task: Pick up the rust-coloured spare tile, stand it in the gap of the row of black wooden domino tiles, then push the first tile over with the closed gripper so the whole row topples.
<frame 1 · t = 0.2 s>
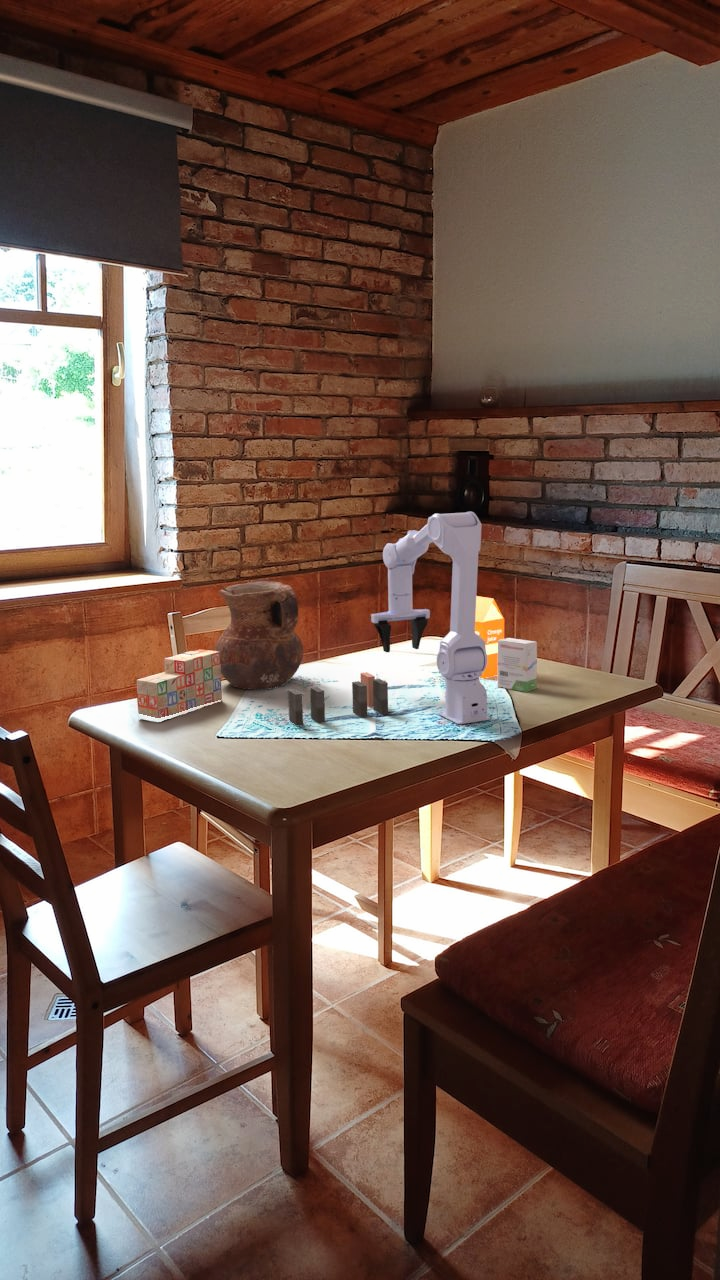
hand: (401, 649, 234), 10 cm above the table, tool pointing down, fingers open, 7 cm apart
tile 4: (296, 723, 210), on the table
stack of blocks: (181, 711, 223), on the table
tile 3: (317, 720, 212), on the table
tile 2: (360, 714, 216), on the table
jug: (260, 684, 246), on the table
orange juice: (481, 674, 252), on the table
tile 1: (380, 711, 218), on the table
ink box: (517, 688, 236), on the table
spare tile: (368, 704, 224), on the table
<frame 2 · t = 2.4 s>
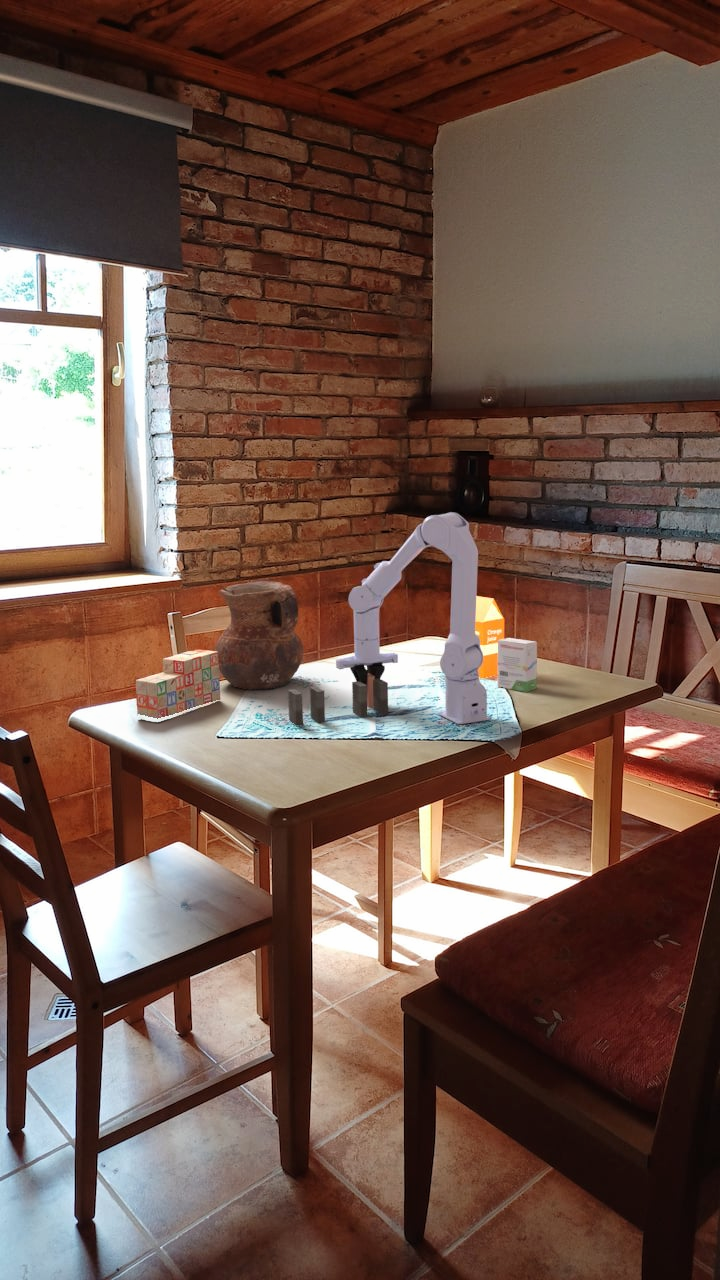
hand: (367, 696, 224), 2 cm above the table, tool pointing down, fingers closed on spare tile, 2 cm apart
spare tile: (368, 704, 224), on the table, touching gripper
everything else where it was.
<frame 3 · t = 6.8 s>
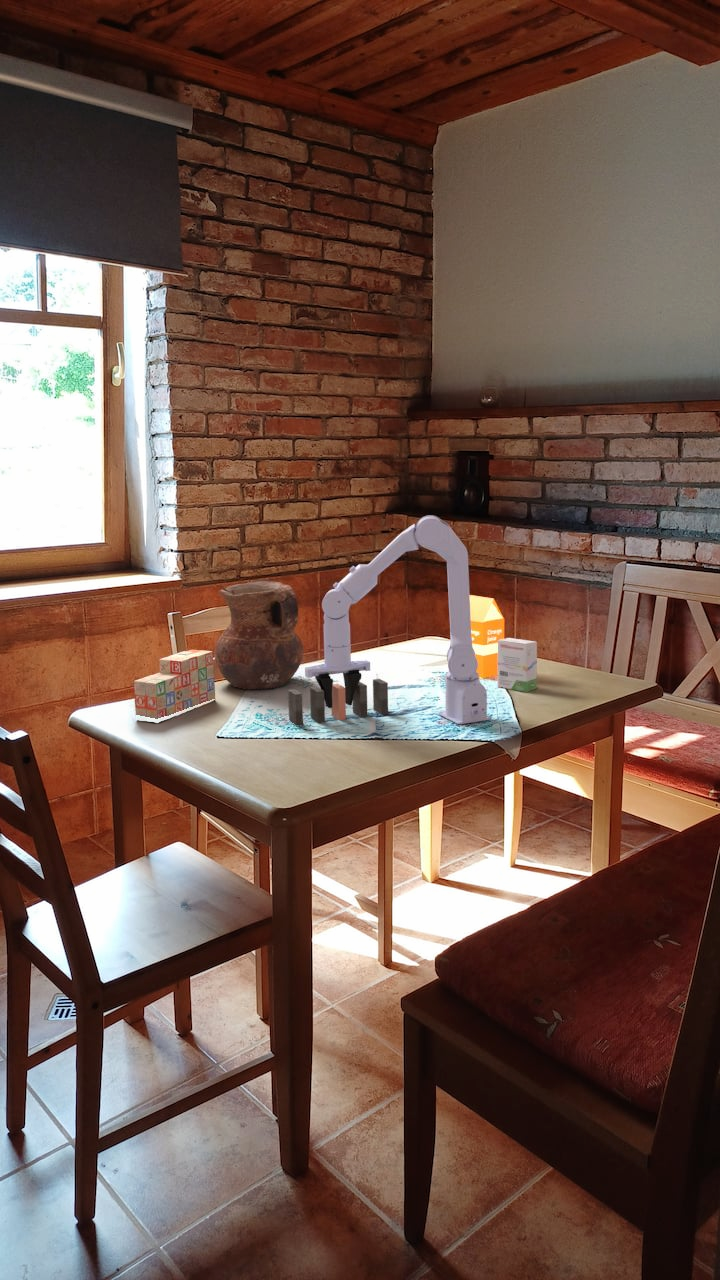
hand: (338, 705, 214), 3 cm above the table, tool pointing down, fingers open, 4 cm apart
spare tile: (338, 717, 214), on the table
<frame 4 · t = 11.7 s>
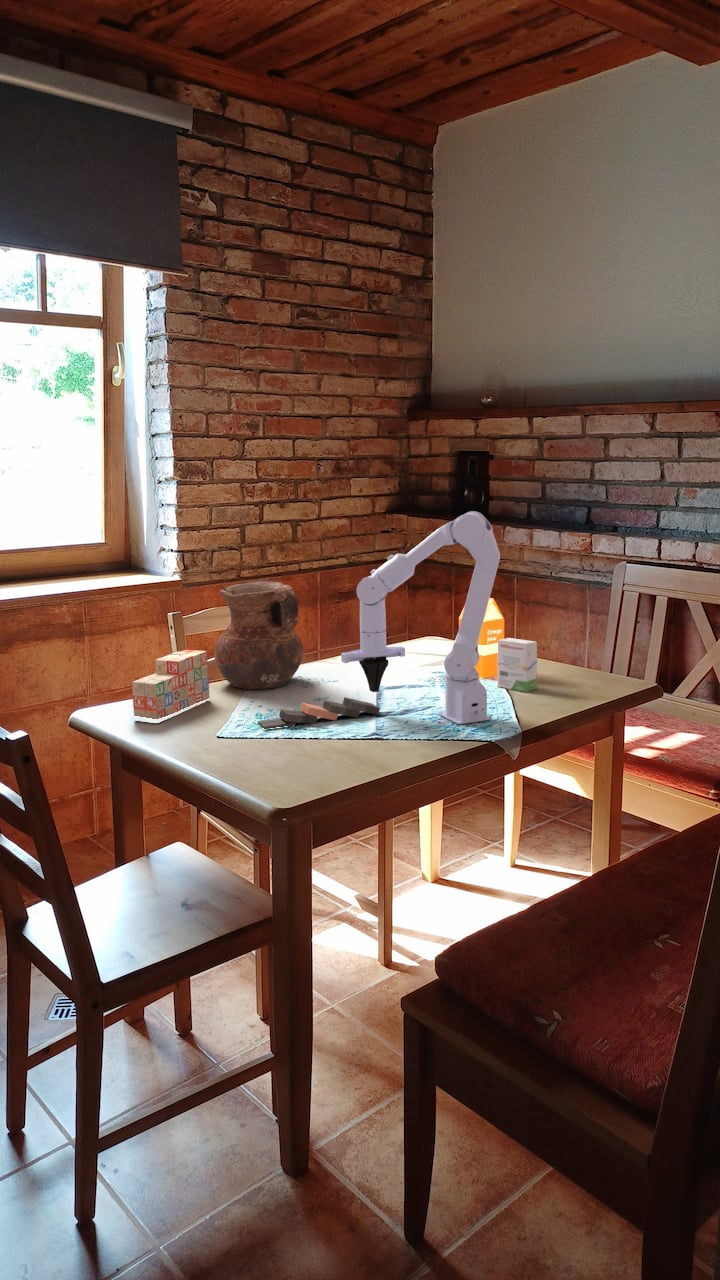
hand: (374, 691, 216), 5 cm above the table, tool pointing down, fingers closed
tile 4: (292, 723, 210), on the table, tilted 90°
tile 3: (313, 717, 212), point 1 cm above the table, tilted 78°, touching spare tile
tile 2: (355, 712, 215), point 1 cm above the table, tilted 71°, touching spare tile, tile 1
tile 1: (374, 709, 217), point 1 cm above the table, tilted 71°, touching tile 2
spare tile: (333, 714, 214), point 1 cm above the table, tilted 71°, touching tile 2, tile 3
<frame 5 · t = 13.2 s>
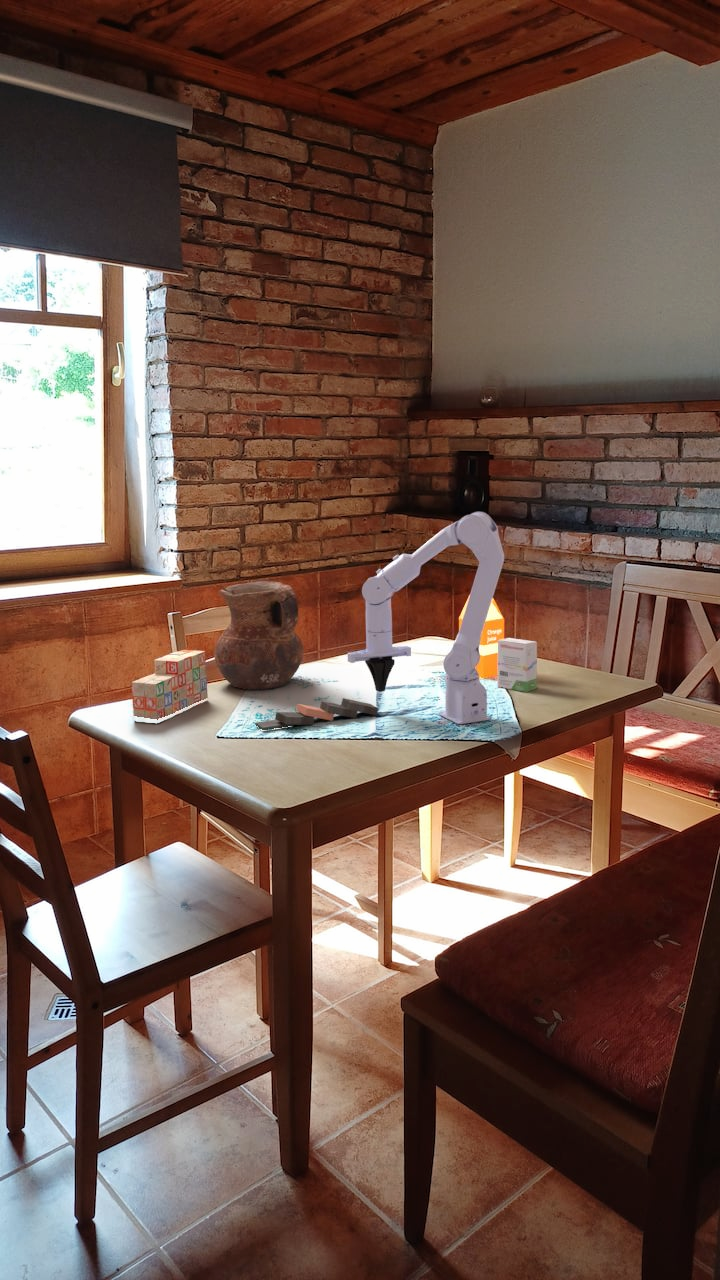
hand: (380, 690, 217), 5 cm above the table, tool pointing down, fingers closed
tile 3: (308, 718, 211), point 1 cm above the table, tilted 79°, touching spare tile
spare tile: (328, 714, 213), point 1 cm above the table, tilted 70°, touching tile 2, tile 3
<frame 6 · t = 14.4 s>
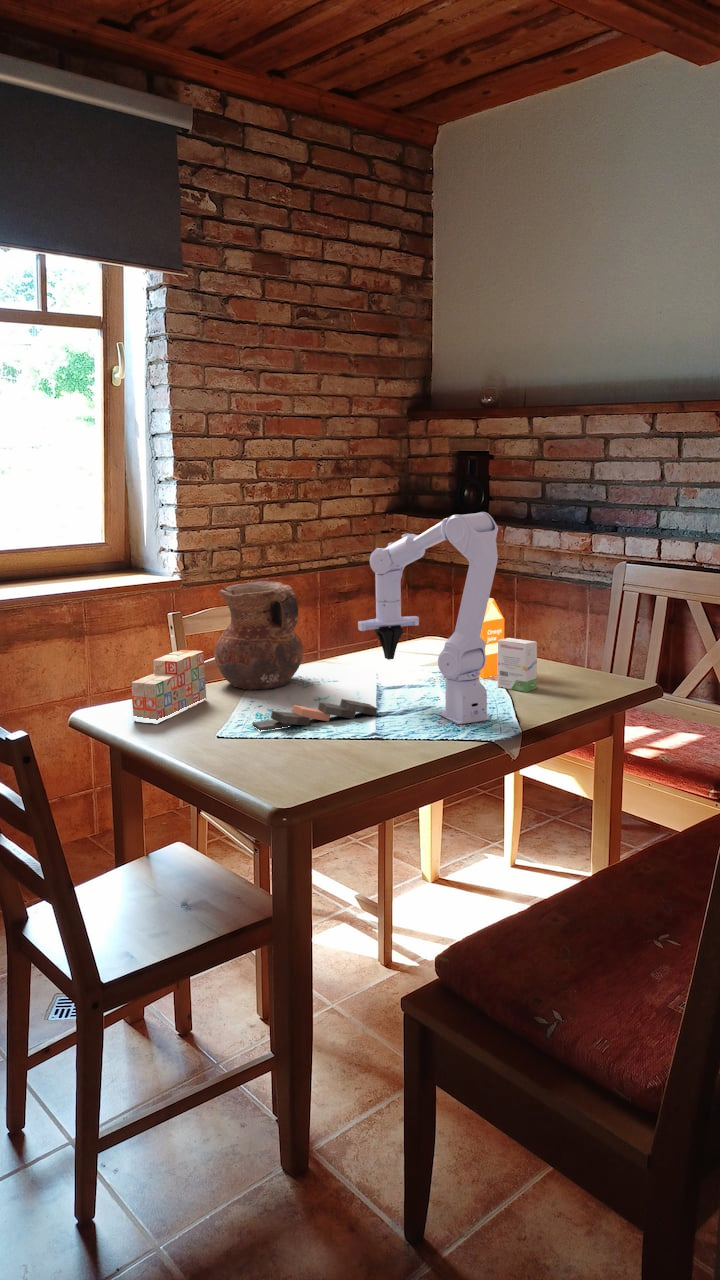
hand: (389, 658, 226), 10 cm above the table, tool pointing down, fingers closed
tile 4: (286, 723, 209), on the table, tilted 90°, touching tile 3
tile 3: (303, 719, 210), point 1 cm above the table, tilted 74°, touching spare tile, tile 4
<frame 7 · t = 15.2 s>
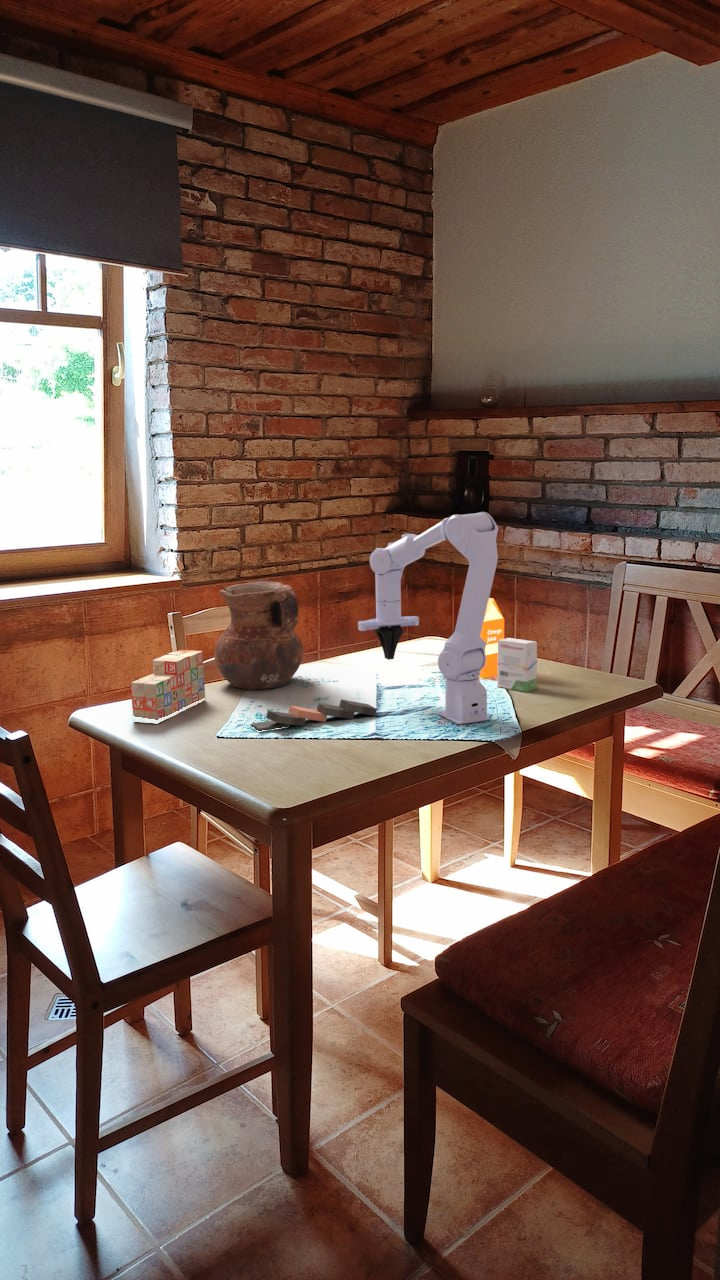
hand: (389, 658, 226), 10 cm above the table, tool pointing down, fingers closed
tile 3: (298, 720, 210), point 1 cm above the table, tilted 73°, touching spare tile, tile 4
tile 2: (349, 713, 214), point 1 cm above the table, tilted 74°, touching tile 1
spare tile: (321, 716, 213), point 1 cm above the table, tilted 72°, touching tile 3
at the end: tile 4 tilted 90°; spare tile inside the target area (3.6 cm from its centre), point 0.8 cm above the table; tile 1 tilted 73° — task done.
